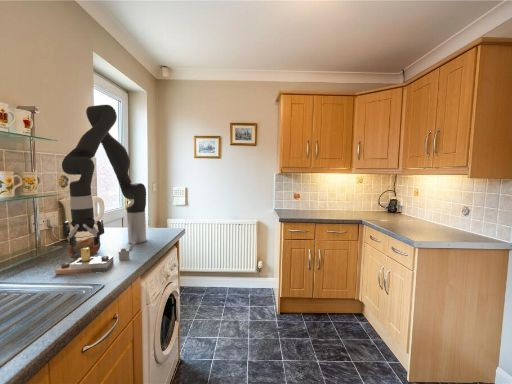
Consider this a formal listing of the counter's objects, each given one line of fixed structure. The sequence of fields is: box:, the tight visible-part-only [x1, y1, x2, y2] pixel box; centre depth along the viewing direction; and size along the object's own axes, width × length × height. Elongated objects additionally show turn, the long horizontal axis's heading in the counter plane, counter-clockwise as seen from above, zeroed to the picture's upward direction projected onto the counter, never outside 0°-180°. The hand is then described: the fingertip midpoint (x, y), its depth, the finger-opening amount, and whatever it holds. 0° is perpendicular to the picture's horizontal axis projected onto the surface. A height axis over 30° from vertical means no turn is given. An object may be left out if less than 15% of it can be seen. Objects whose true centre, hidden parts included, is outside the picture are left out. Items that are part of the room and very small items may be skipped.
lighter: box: [118, 242, 137, 261], centre depth 115 cm, size 7×2×8 cm, turn 105°
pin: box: [81, 248, 91, 263], centre depth 103 cm, size 3×3×9 cm
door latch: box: [54, 255, 115, 275], centre depth 104 cm, size 8×18×5 cm, turn 99°
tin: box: [69, 236, 101, 260], centre depth 119 cm, size 15×3×8 cm, turn 168°
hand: (85, 245), depth 103 cm, fingers open, 8 cm apart
